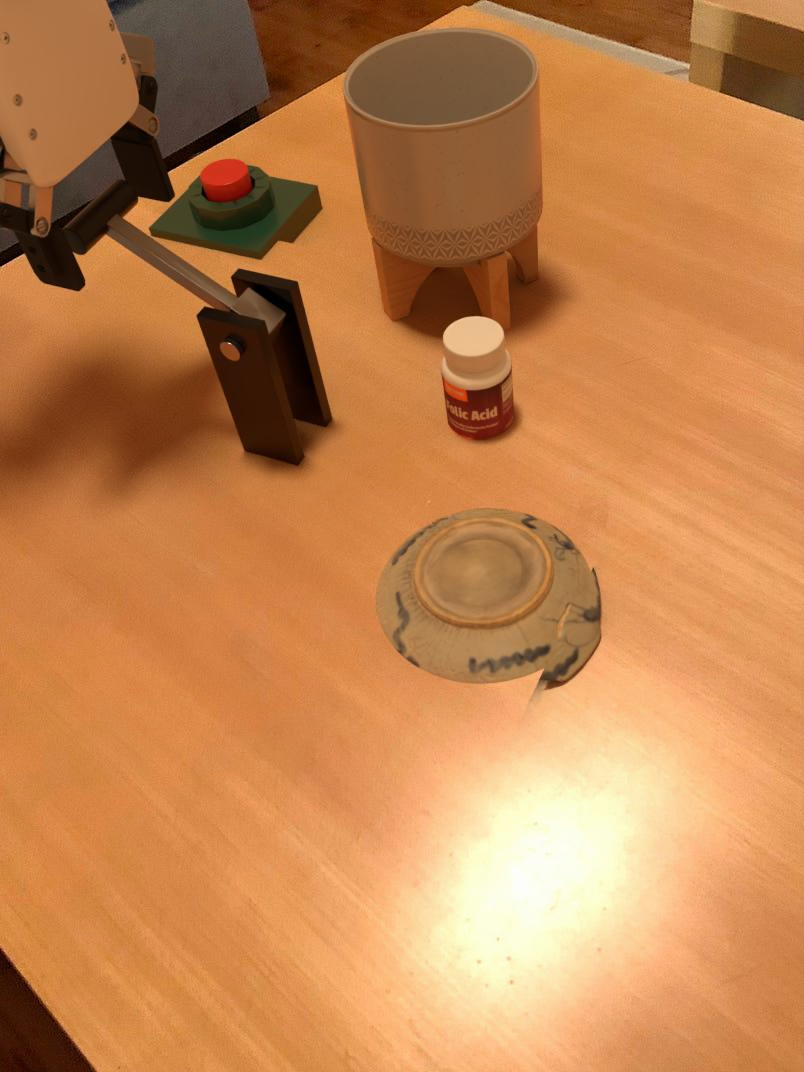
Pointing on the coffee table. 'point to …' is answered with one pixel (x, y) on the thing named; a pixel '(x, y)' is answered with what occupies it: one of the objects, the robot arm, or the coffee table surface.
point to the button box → (241, 216)
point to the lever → (160, 255)
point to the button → (226, 180)
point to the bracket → (267, 369)
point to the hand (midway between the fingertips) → (110, 239)
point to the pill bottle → (477, 378)
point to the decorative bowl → (490, 599)
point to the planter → (448, 160)
